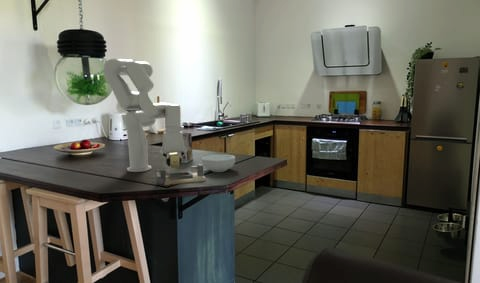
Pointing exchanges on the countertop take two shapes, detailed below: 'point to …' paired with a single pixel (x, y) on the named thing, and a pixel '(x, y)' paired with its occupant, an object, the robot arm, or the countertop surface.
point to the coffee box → (188, 145)
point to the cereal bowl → (218, 162)
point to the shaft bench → (180, 176)
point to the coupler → (174, 160)
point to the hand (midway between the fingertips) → (173, 165)
